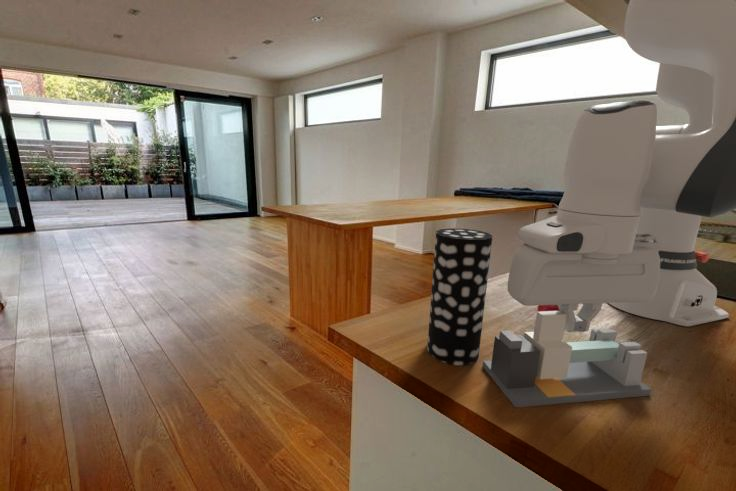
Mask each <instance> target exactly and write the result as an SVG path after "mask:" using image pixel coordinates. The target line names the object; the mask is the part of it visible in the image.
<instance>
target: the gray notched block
mask: <svg viewBox="0 0 736 491" xmlns="http://www.w3.org/2000/svg"><path fill="white" fill-rule="evenodd" d="M590 330H591V331H590V336H589V340H588V341H600V340H612V341H614V342H616V340H617V336H618V331H617V330H615V329H613V328H606V327H603V328H591V329H590ZM618 344H619V347H618V351H617V356H616V357H613V360H604V361H591V362H592V363H593V364H595V365H596V366H598V367H599V368H600V369H602V370H603V371H604V372H606V373H607V374H608V375H610V376H611V377H613V378H614V379H615V380H617V381H618V382H619V383H621V384H622V385H624V386H633V385H640V382H642V381H641V380H642V377H643V373H644V369H645V366H646V365H645V364H646V361H647V357H648V352H647V351H646V350H643V349H641V346H642V345H641V344H639V342H638V343H637V342H636V341H624V342H619V343H618Z"/></svg>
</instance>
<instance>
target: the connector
mask: <svg viewBox="0 0 736 491" xmlns="http://www.w3.org/2000/svg"><path fill="white" fill-rule="evenodd" d="M539 354H540V350H538V349H537V348H536V347H535V346H534V345H532V344H531V343H530V342H529V341H528V340H527V339H525V338H524V335H522V334H516V333H515V332H513V330H509V329H508V330H500V331H499V335H495V336H494V340H493V349H492V355H491V360H492V363H491V371H492V372H493V373H494V374H495V376H496V377H497V378H498V379H499V380H500V382H501V383H502V384H503V385H504V386H505V388H506V389H515V388H528V387H534V384H535V378H536V372H537V366H538V360H539Z"/></svg>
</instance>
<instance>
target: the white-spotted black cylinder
mask: <svg viewBox="0 0 736 491" xmlns="http://www.w3.org/2000/svg"><path fill="white" fill-rule="evenodd" d="M434 240H435V241H434V253H433V254H434V256H433V267H432V268H433V269H432V280H431V282H432V283H431V294H430V305H429V306H430V308H429V319H428V320H429V321H428V322H429V323H428V334H427V352H428V353H429V355H431V357H432V358H433V359H436V360H437V361H439V362H441V363H444V364H449V365H453V366H466V365H470V364H474V363H475V362H476V361H478V358H479V357H480V355H479V354H480V347H481V339H482V330H483V321H484V313H485V305H486V297H487V296H486V295H487V286H488V278H489V270H490V262H491V252H492V242H493V235H492V234H491V233H489V232H486V231H482V230H477V229H470V228H469V229H468V228H457V227H454V228H441V229H438V230H436V231H435V239H434Z"/></svg>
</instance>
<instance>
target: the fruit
mask: <svg viewBox="0 0 736 491" xmlns="http://www.w3.org/2000/svg"><path fill="white" fill-rule="evenodd" d="M536 310H537V311H536V312H540V311H560V310H559V307H558V305H537V309H536Z"/></svg>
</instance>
